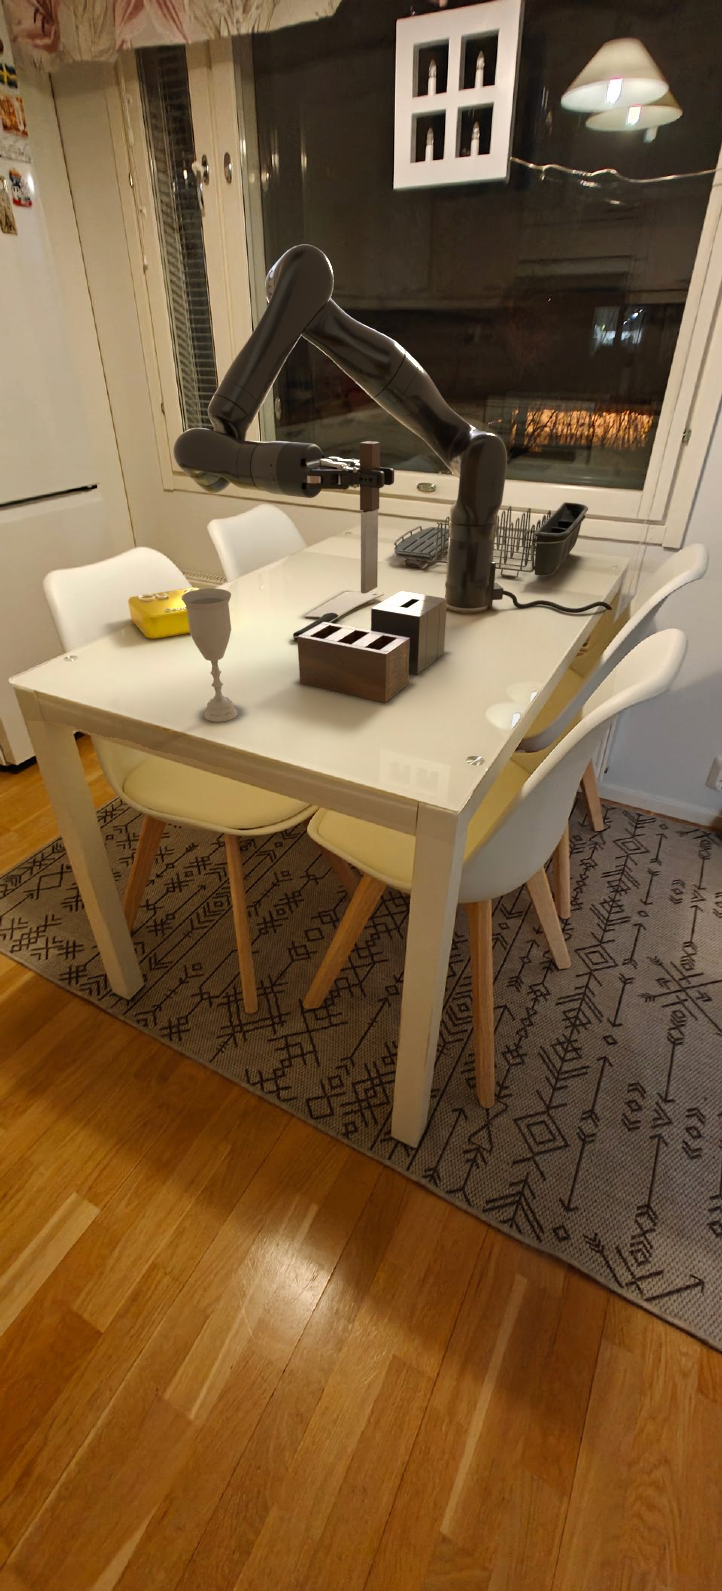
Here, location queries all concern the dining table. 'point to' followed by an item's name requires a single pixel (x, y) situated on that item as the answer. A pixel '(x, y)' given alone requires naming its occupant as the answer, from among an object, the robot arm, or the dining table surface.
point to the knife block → (414, 625)
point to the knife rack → (354, 661)
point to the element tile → (160, 613)
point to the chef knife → (369, 518)
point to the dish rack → (549, 544)
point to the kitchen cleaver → (337, 608)
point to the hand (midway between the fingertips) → (387, 478)
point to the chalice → (211, 641)
